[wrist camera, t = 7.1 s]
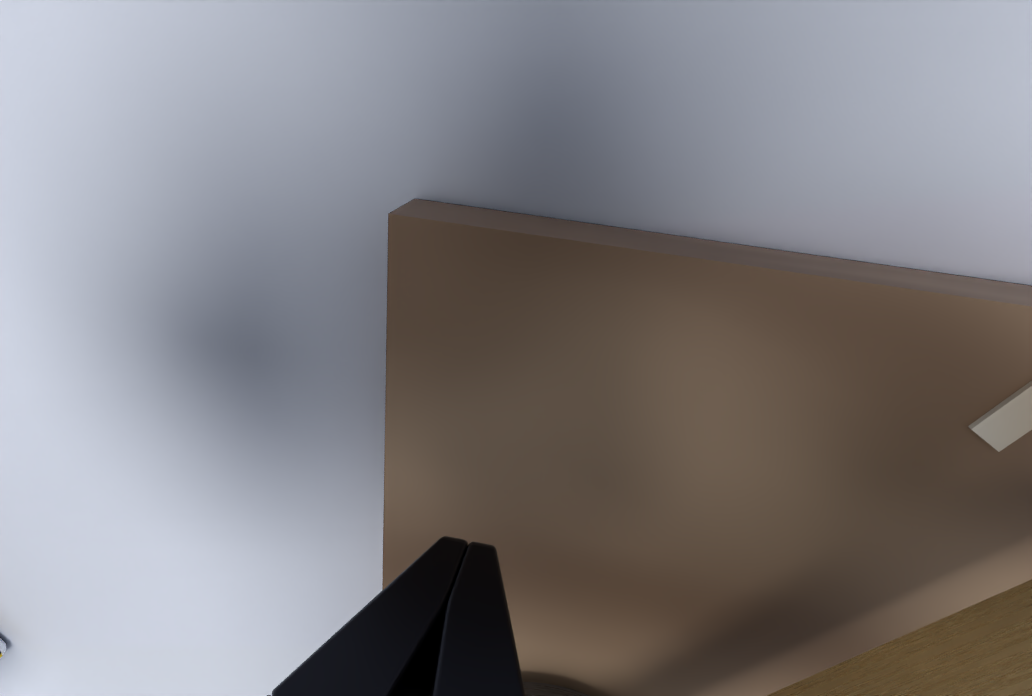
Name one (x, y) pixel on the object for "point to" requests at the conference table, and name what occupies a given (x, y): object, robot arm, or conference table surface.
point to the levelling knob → (928, 658)
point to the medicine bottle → (2, 647)
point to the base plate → (701, 444)
